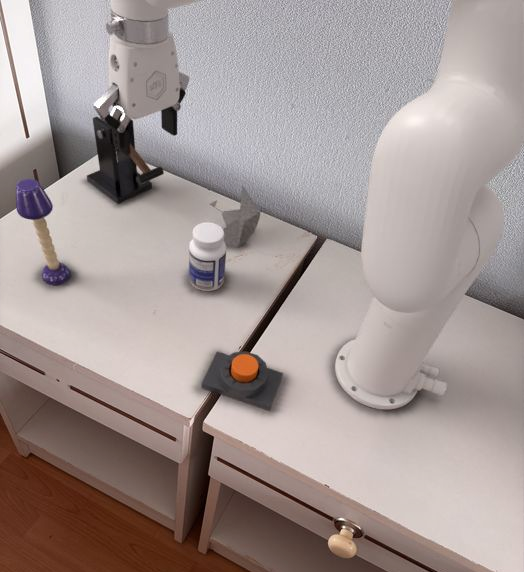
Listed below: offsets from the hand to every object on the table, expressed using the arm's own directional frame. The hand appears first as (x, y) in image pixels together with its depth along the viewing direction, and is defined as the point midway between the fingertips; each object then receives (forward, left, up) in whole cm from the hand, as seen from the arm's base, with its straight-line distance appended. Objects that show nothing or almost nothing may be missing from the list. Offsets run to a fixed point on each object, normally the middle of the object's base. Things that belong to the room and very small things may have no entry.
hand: (146, 141), depth 83 cm
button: (-28, +30, -10) cm, 42 cm away
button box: (-28, +30, -13) cm, 43 cm away
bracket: (+8, -4, -13) cm, 16 cm away
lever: (+5, -2, -5) cm, 7 cm away
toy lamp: (+6, +22, -13) cm, 27 cm away
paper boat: (-16, 0, -13) cm, 21 cm away
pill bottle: (-16, +13, -13) cm, 25 cm away
